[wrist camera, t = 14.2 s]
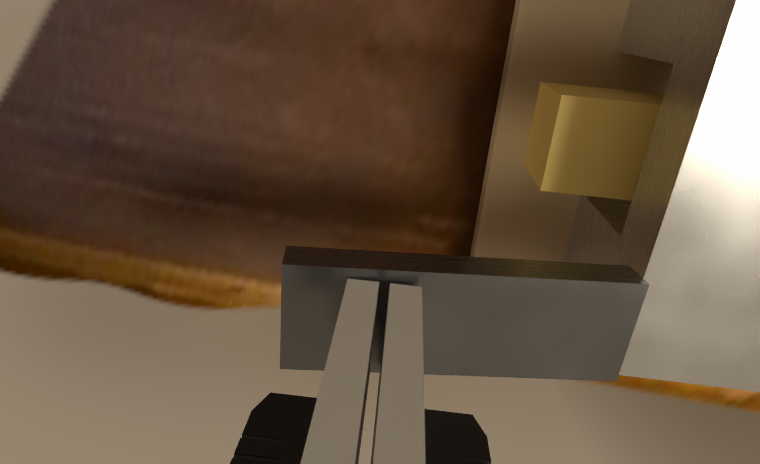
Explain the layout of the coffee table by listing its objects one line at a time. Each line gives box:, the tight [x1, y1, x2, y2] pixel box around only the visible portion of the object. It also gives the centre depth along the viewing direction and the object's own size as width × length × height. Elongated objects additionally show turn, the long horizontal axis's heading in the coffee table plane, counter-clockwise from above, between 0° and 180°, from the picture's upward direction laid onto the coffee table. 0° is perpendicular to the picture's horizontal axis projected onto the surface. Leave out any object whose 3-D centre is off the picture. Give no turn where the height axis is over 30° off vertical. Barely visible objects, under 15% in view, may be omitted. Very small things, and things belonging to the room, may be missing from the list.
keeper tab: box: [280, 246, 649, 381], centre depth 14 cm, size 3×9×1 cm, turn 85°
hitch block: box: [563, 0, 760, 392], centre depth 16 cm, size 12×5×6 cm, turn 175°
